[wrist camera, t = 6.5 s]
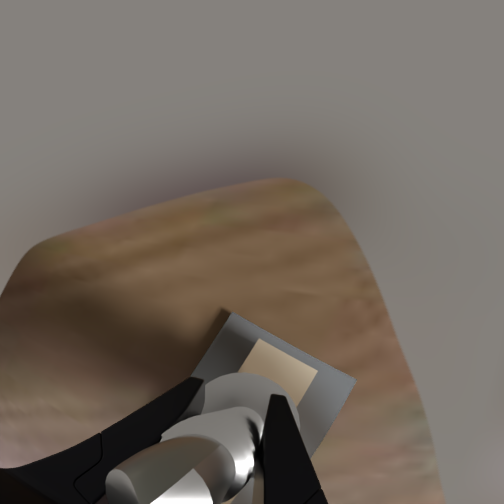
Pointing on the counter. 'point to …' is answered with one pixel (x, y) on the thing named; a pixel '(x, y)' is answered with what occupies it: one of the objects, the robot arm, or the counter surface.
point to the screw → (202, 448)
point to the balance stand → (278, 379)
